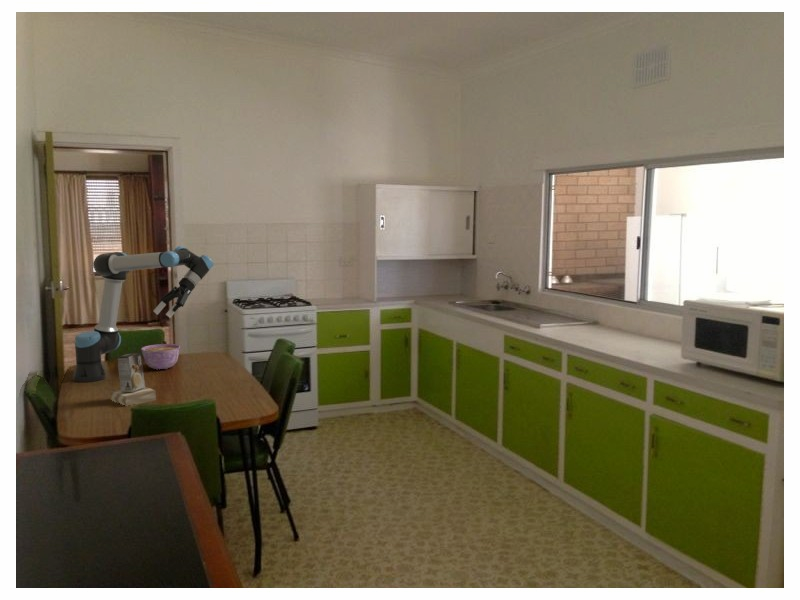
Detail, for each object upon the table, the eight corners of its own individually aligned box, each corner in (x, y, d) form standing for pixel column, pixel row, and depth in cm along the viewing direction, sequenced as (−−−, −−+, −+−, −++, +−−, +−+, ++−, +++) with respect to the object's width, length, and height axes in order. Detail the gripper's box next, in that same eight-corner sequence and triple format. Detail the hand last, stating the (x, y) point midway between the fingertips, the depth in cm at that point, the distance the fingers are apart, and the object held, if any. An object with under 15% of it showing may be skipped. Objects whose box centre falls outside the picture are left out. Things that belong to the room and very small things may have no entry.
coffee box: (133, 387, 308) (129, 353, 307) (145, 387, 306) (141, 352, 305) (120, 392, 299) (116, 356, 298) (132, 392, 298) (128, 356, 296)
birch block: (111, 401, 302) (110, 390, 302) (140, 395, 313) (140, 385, 312) (126, 407, 293) (125, 396, 293) (155, 401, 304) (155, 390, 303)
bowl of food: (188, 367, 369) (188, 346, 367) (158, 374, 352) (157, 352, 350) (164, 362, 379) (164, 342, 378) (134, 369, 363) (133, 348, 361)
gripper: (206, 288, 327) (178, 322, 318) (182, 284, 345) (155, 316, 336) (196, 278, 323) (167, 312, 314) (172, 274, 340) (144, 306, 332)
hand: (161, 314), depth 325 cm, fingers open, 13 cm apart
